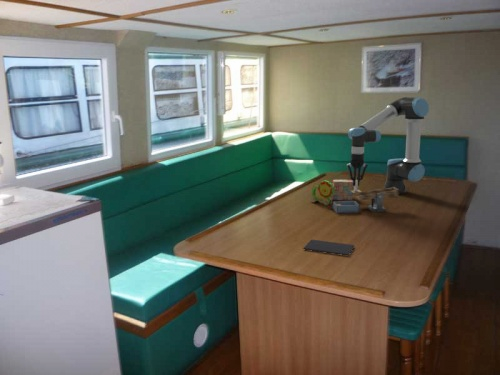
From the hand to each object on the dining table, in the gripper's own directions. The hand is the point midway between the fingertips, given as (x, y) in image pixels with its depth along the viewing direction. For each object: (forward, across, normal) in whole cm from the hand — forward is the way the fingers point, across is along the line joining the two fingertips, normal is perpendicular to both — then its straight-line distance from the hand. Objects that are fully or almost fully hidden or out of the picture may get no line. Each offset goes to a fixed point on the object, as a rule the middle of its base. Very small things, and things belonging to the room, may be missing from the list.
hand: (355, 190), depth 283 cm
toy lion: (+10, +19, -7) cm, 22 cm away
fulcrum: (+9, -10, +11) cm, 17 cm away
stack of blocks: (+10, +8, -18) cm, 22 cm away
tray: (+9, +9, +11) cm, 17 cm away
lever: (+3, -10, +6) cm, 12 cm away
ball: (+7, +13, +11) cm, 18 cm away
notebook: (+11, +33, +72) cm, 80 cm away
